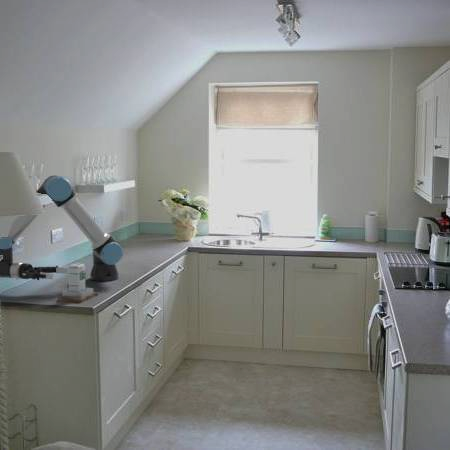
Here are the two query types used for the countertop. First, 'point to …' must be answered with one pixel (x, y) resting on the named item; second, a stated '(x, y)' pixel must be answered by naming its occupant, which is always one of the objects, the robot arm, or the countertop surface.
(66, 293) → the socket collar
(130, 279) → the countertop surface
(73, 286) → the syrup box
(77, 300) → the carrier plate
